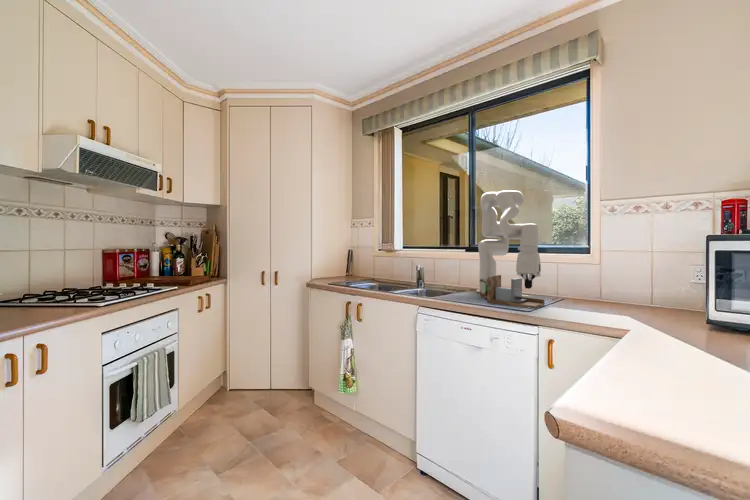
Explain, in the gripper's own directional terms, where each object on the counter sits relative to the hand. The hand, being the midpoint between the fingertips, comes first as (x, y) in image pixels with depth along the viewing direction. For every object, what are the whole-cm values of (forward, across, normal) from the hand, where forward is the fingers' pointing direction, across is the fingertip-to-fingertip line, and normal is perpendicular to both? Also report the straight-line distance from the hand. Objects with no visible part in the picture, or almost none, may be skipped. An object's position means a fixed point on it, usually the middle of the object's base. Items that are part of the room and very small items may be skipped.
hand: (528, 288), depth 167 cm
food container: (+8, -24, +7) cm, 27 cm away
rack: (+8, -6, 0) cm, 10 cm away
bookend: (+7, -4, 0) cm, 8 cm away
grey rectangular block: (+7, -11, 0) cm, 13 cm away
